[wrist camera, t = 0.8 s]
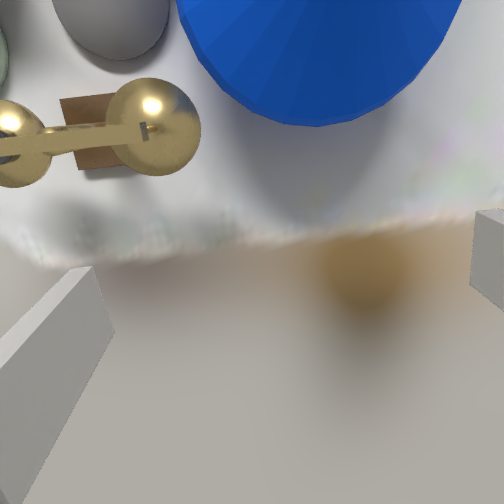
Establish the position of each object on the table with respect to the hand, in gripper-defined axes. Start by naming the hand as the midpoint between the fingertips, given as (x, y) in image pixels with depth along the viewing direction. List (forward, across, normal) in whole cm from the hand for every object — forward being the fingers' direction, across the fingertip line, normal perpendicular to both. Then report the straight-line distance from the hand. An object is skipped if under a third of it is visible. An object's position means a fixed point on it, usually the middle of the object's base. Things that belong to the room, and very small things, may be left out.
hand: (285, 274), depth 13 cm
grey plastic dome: (+24, -10, +15) cm, 30 cm away
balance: (+24, -12, +5) cm, 27 cm away
